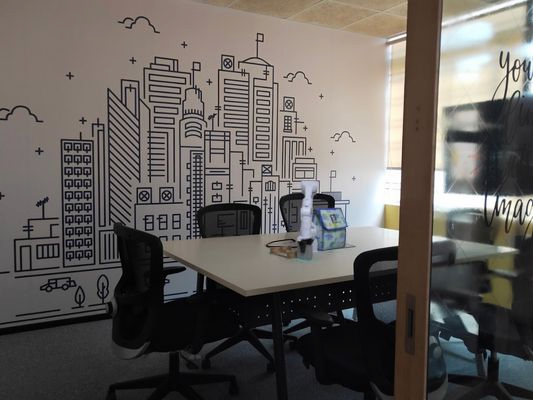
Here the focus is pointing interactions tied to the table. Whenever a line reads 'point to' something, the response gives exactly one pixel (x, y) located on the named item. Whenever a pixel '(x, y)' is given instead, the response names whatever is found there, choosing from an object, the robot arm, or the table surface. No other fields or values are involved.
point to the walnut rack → (283, 250)
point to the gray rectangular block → (307, 254)
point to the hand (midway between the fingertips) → (305, 252)
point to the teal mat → (304, 260)
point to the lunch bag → (330, 228)
